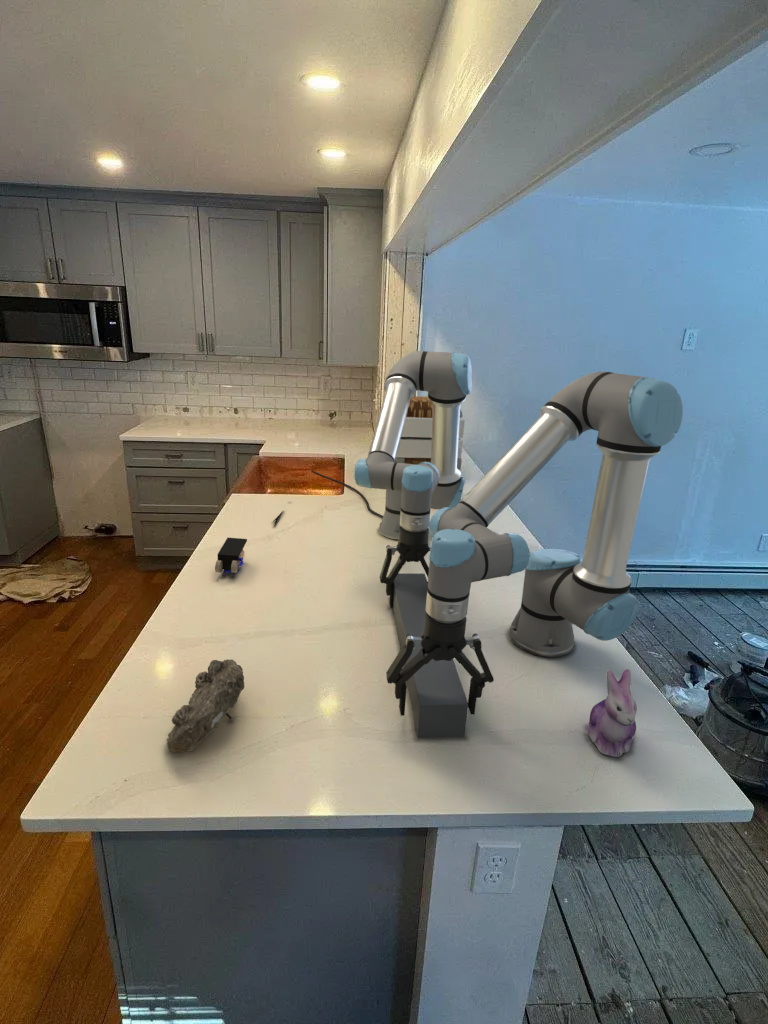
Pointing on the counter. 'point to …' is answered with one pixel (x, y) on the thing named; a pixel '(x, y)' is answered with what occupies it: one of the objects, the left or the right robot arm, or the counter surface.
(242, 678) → the fossil
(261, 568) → the counter surface
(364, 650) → the counter surface
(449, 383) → the left robot arm
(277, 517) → the feather
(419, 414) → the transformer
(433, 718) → the long dark grey beam
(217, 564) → the black wheeled cart
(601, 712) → the figurine
